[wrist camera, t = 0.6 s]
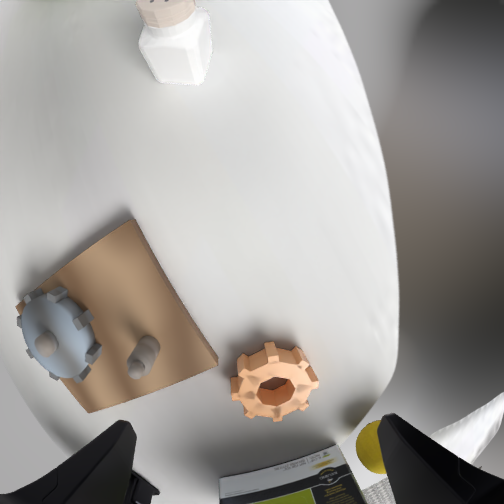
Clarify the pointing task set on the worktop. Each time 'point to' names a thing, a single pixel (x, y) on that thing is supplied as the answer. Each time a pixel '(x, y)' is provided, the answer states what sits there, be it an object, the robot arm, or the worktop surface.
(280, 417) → the gear
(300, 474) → the tea box
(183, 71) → the pepper shaker
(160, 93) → the worktop surface
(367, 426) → the lemon
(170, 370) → the gear board
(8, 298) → the worktop surface
